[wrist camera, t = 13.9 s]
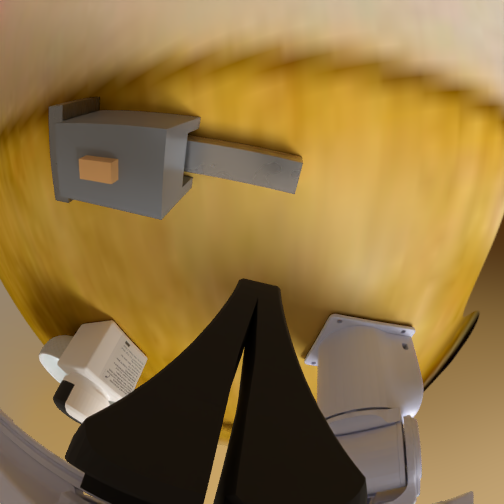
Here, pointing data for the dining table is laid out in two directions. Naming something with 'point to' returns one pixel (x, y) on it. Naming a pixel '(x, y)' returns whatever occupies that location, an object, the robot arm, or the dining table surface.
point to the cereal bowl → (56, 356)
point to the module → (125, 159)
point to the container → (97, 369)
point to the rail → (201, 155)
